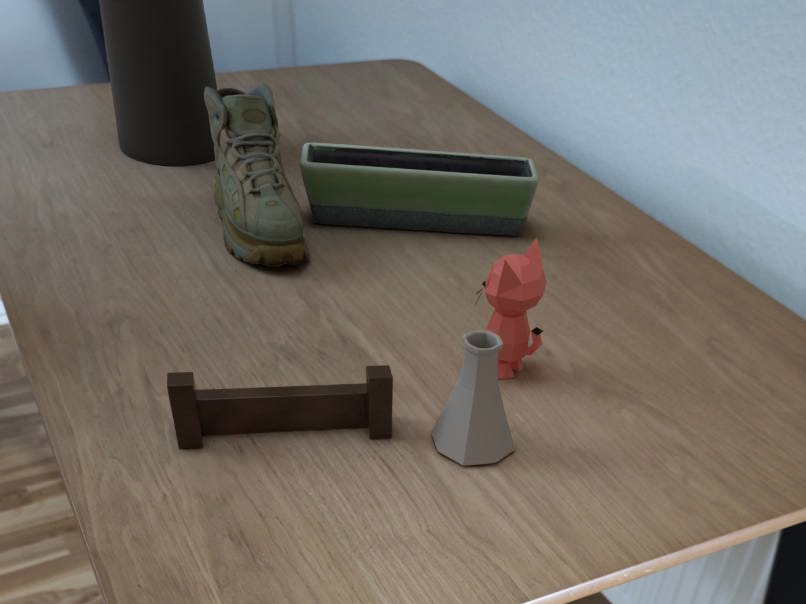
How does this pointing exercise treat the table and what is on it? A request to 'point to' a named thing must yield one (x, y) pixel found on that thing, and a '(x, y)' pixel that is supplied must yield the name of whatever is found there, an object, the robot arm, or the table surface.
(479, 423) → the flask
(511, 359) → the cat figurine
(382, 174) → the planter
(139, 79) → the vase
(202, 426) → the wooden hurdle
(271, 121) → the sneaker
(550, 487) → the table surface
